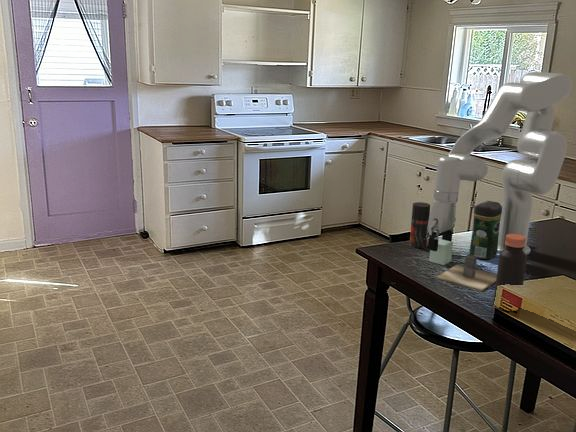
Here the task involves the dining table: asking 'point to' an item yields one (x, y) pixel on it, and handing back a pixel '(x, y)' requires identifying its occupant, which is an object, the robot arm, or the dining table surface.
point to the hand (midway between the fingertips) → (439, 246)
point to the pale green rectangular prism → (442, 252)
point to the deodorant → (419, 225)
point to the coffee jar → (485, 230)
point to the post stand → (468, 275)
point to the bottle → (511, 262)
